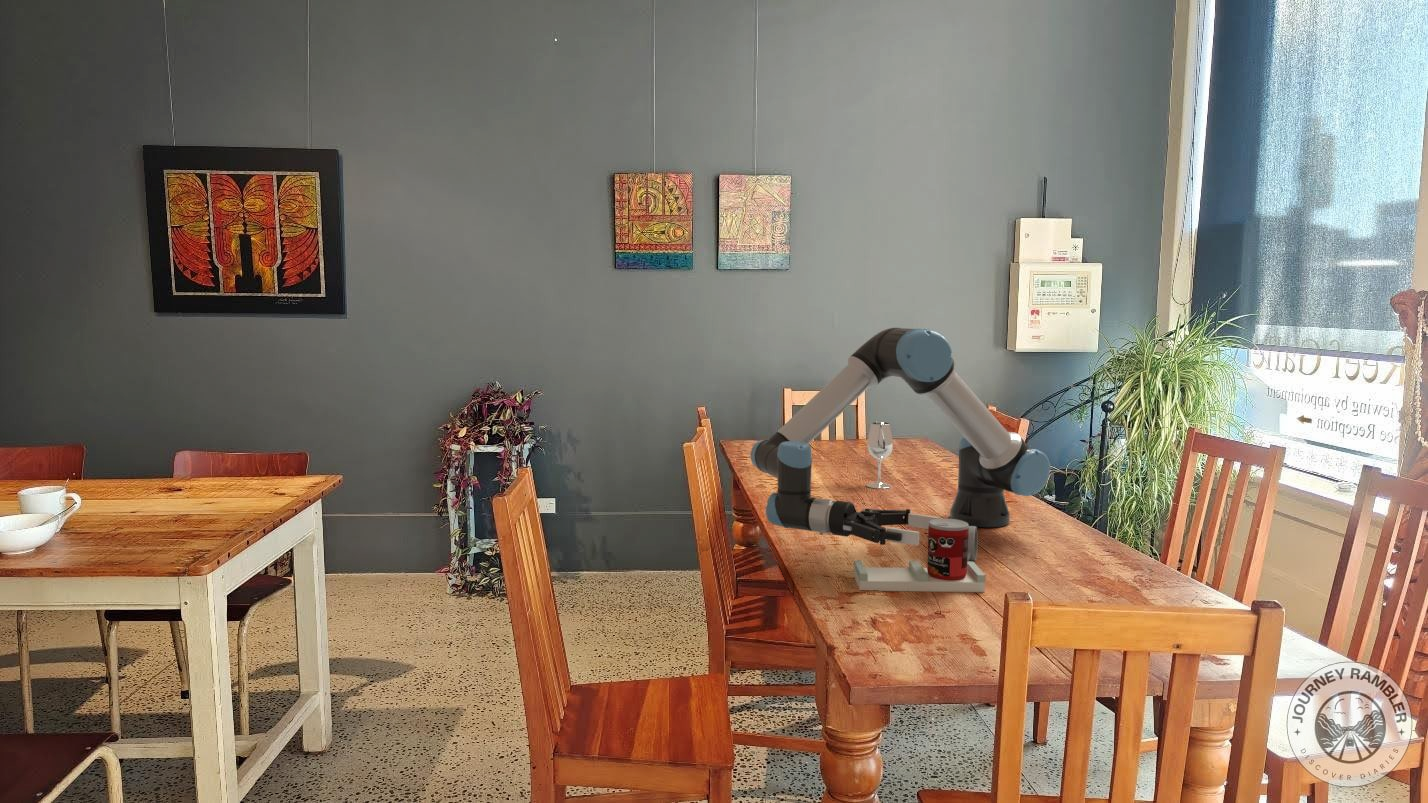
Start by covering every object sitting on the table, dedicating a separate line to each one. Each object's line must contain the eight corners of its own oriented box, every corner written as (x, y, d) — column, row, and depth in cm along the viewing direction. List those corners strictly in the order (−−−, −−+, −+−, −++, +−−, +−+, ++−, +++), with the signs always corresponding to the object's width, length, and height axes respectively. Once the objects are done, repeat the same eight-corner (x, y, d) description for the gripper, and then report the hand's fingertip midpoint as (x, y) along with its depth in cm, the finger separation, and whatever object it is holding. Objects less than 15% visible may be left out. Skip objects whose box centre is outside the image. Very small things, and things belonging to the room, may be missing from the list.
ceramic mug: (941, 551, 200) (942, 519, 199) (977, 555, 197) (978, 522, 196) (935, 565, 190) (936, 531, 189) (973, 569, 187) (974, 535, 186)
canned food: (919, 571, 179) (921, 519, 178) (951, 567, 182) (953, 516, 180) (941, 582, 172) (943, 529, 171) (974, 578, 175) (976, 525, 173)
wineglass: (877, 482, 275) (878, 420, 272) (896, 486, 269) (898, 423, 266) (861, 485, 270) (862, 423, 267) (880, 490, 264) (882, 425, 261)
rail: (972, 577, 181) (973, 561, 181) (984, 592, 172) (985, 575, 172) (853, 576, 182) (854, 560, 182) (859, 590, 173) (860, 573, 173)
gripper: (854, 521, 200) (945, 534, 189) (809, 547, 178) (908, 564, 168) (855, 489, 199) (946, 501, 188) (810, 512, 177) (910, 526, 167)
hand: (929, 531), depth 178 cm, fingers open, 13 cm apart
